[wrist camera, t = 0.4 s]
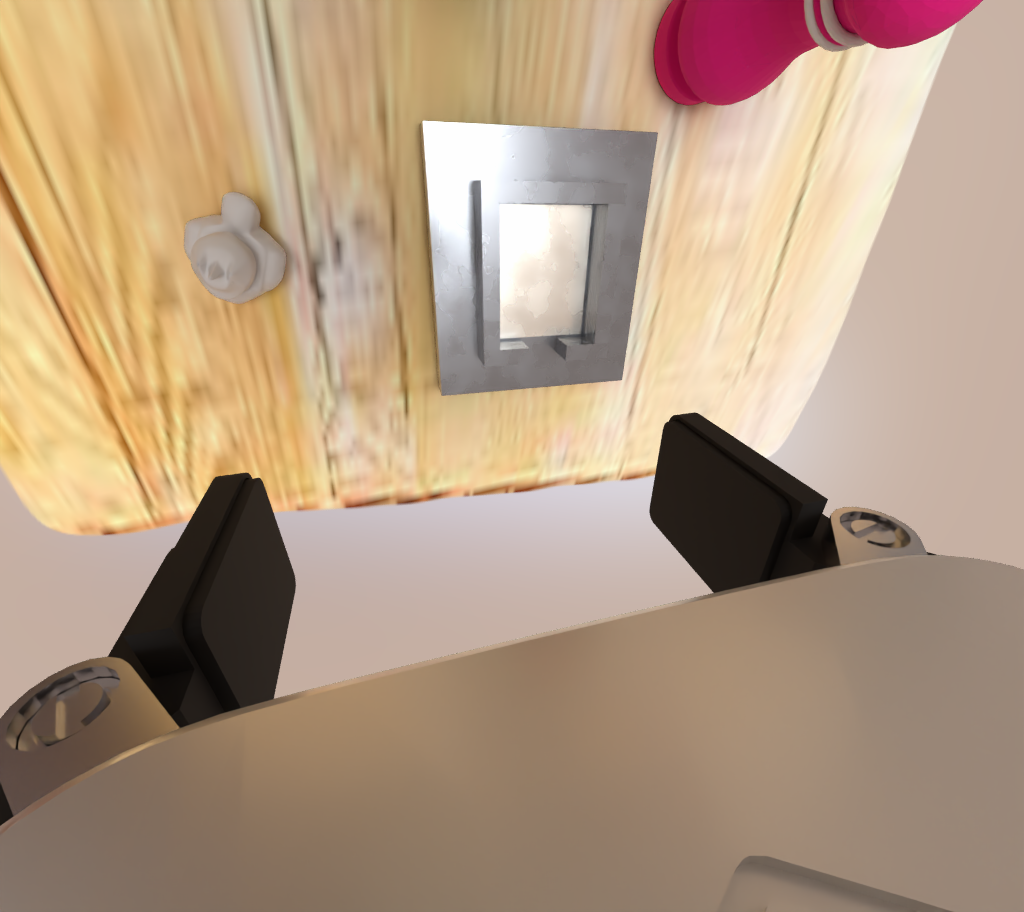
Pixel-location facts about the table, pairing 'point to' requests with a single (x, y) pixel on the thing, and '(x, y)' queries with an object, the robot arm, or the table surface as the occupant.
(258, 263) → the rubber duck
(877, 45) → the pepper mill
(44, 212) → the table surface
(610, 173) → the plate
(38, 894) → the robot arm
